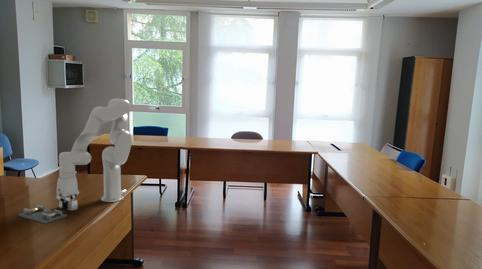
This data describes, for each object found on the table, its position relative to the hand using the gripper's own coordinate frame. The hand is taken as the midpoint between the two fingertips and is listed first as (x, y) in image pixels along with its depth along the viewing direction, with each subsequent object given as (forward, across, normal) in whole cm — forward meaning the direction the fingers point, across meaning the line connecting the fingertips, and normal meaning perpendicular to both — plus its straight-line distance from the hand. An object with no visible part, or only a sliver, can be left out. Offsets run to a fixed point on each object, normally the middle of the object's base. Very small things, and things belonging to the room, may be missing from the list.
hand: (68, 207), depth 187 cm
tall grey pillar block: (0, 0, 0) cm, 0 cm away
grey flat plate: (0, +14, 0) cm, 15 cm away
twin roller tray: (0, +14, 0) cm, 15 cm away
